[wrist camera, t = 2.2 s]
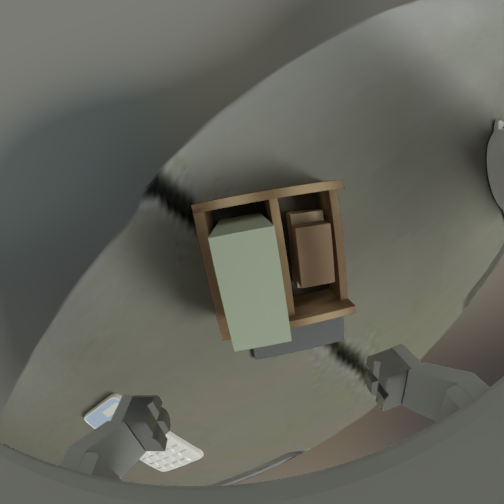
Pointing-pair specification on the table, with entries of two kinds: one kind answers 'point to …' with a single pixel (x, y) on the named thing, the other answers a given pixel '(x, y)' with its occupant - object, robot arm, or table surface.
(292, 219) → the offcut lower
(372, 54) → the table surface
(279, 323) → the sage green thick block
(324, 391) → the table surface
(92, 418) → the calculator
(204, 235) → the rack
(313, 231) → the offcut upper
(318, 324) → the mat
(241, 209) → the table surface
